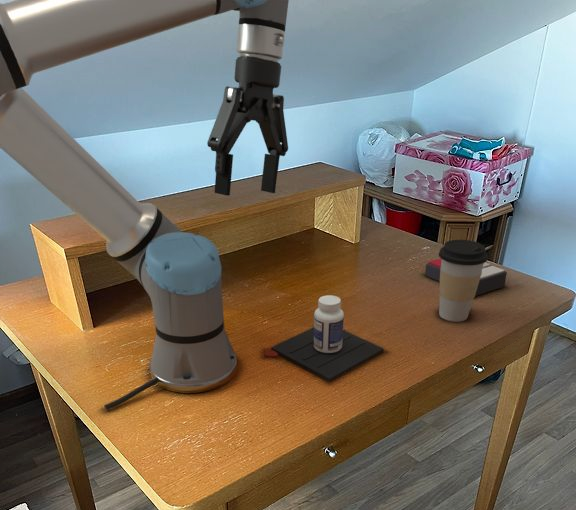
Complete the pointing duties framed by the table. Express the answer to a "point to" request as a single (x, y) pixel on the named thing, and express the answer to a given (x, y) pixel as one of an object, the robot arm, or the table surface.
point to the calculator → (488, 280)
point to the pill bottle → (328, 324)
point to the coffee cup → (459, 277)
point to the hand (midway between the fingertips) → (246, 193)
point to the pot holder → (325, 354)
